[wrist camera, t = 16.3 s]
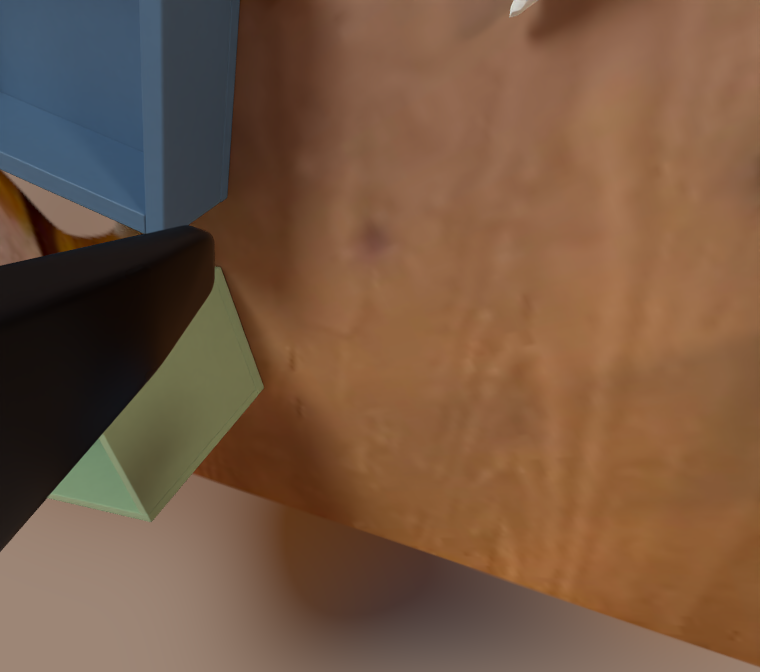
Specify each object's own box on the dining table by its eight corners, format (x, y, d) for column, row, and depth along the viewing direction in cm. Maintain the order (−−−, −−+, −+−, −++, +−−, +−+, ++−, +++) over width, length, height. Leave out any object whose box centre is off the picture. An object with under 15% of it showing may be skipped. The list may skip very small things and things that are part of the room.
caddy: (220, 266, 28) (77, 386, 22) (264, 387, 31) (151, 522, 25) (58, 264, 32) (-101, 364, 26) (112, 371, 36) (-17, 483, 29)
